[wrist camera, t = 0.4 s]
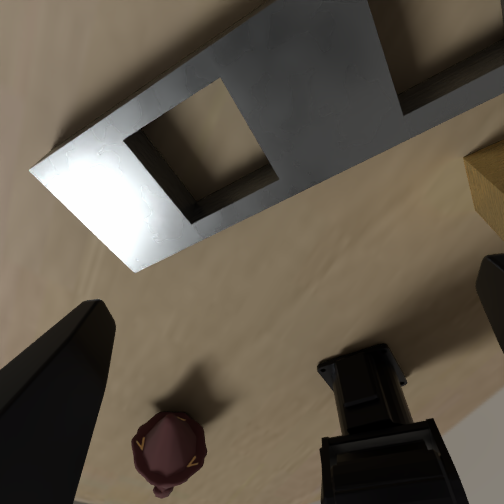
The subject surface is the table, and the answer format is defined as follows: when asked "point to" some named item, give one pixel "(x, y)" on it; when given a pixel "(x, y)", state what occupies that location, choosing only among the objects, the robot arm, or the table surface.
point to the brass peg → (488, 184)
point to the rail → (257, 124)
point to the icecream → (169, 450)
